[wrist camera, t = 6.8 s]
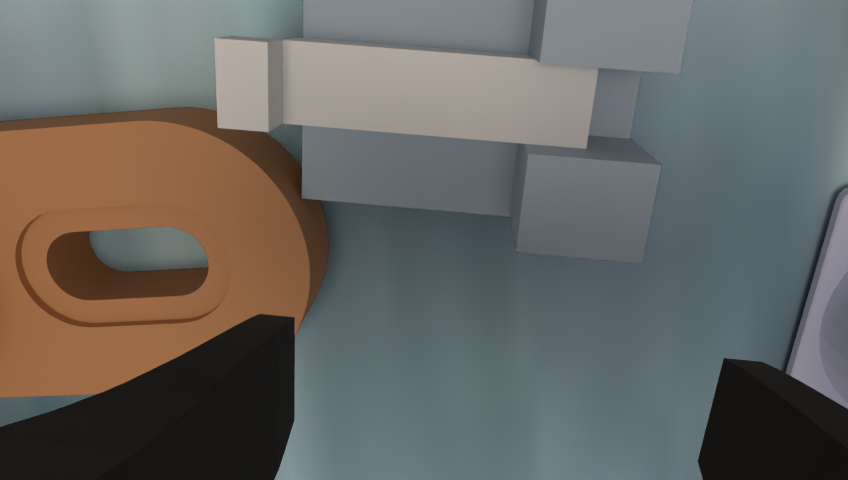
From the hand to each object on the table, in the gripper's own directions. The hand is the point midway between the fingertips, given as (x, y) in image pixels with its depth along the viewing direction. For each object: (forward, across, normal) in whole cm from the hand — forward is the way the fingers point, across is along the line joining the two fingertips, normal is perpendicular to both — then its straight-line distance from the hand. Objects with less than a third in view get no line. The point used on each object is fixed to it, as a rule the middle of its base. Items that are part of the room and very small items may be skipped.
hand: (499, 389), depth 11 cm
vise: (+10, +2, -6) cm, 12 cm away
